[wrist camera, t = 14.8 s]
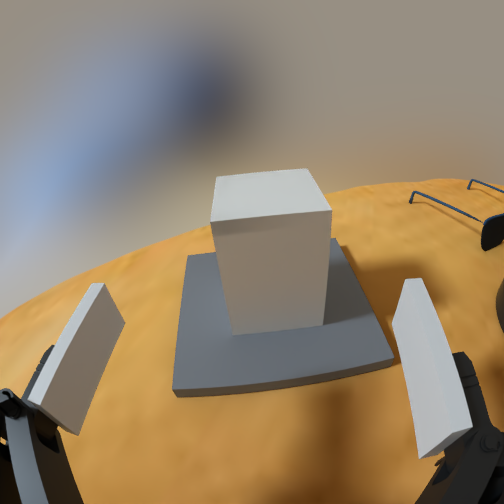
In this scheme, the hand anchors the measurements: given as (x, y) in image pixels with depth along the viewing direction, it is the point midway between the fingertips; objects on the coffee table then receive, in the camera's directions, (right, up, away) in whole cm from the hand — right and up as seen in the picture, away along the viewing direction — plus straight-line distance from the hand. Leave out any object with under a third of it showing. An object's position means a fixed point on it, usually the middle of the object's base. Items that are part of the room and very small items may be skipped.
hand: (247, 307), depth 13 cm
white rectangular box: (+2, -2, +13) cm, 13 cm away
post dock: (+2, -3, +14) cm, 14 cm away
